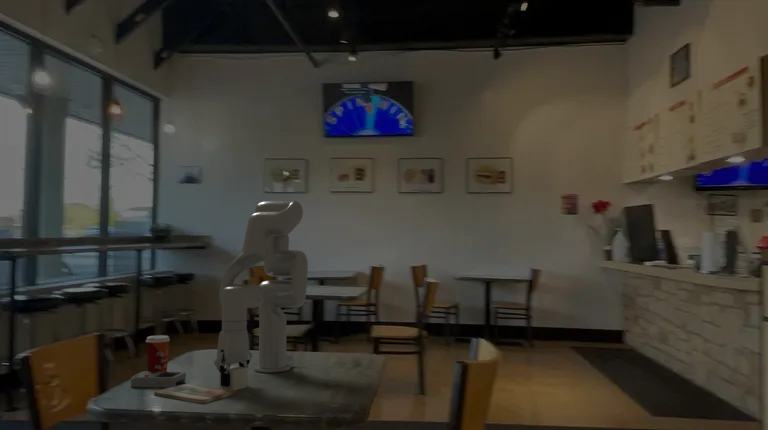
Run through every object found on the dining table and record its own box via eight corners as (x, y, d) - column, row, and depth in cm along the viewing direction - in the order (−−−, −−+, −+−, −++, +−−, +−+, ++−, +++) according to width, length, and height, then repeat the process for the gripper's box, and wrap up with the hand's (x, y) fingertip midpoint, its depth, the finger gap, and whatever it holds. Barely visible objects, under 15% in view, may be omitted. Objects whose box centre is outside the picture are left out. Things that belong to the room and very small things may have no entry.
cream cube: (233, 384, 203) (233, 365, 203) (247, 387, 200) (247, 367, 200) (219, 388, 198) (219, 369, 198) (234, 390, 195) (234, 371, 195)
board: (188, 386, 200) (188, 383, 200) (235, 394, 190) (235, 390, 190) (154, 395, 189) (154, 391, 189) (202, 403, 179) (203, 399, 179)
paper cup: (161, 382, 206) (162, 338, 207) (140, 381, 208) (140, 338, 208) (174, 377, 214) (174, 335, 214) (153, 376, 215) (154, 334, 216)
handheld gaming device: (142, 382, 208) (142, 370, 208) (186, 383, 206) (186, 371, 207) (128, 389, 199) (128, 376, 199) (174, 390, 198) (174, 377, 198)
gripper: (244, 322, 209) (243, 377, 208) (204, 328, 194) (204, 388, 193) (262, 324, 205) (261, 380, 205) (223, 330, 190) (222, 390, 190)
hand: (233, 383), depth 199 cm, fingers open, 6 cm apart
